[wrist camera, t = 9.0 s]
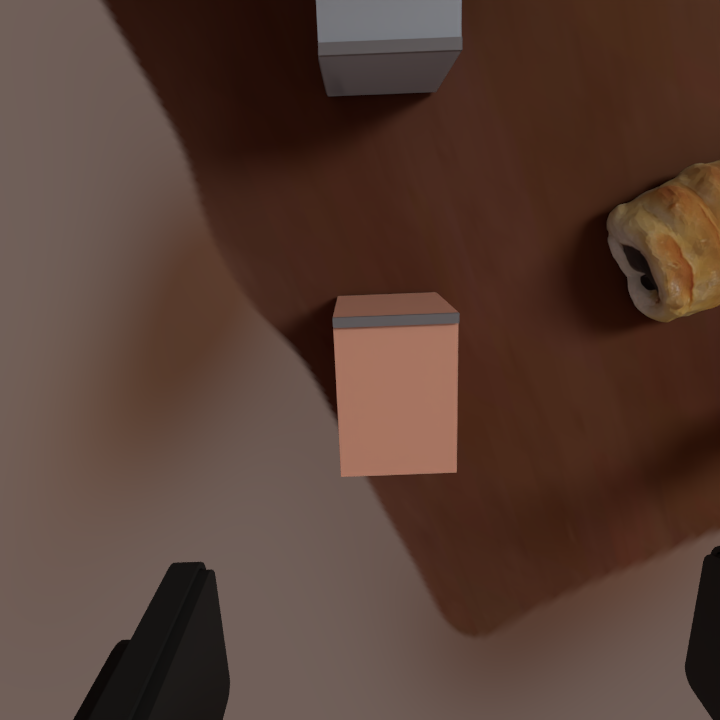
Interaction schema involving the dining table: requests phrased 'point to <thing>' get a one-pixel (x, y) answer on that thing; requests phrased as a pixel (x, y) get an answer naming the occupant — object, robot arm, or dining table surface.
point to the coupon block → (387, 45)
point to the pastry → (671, 244)
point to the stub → (396, 383)
